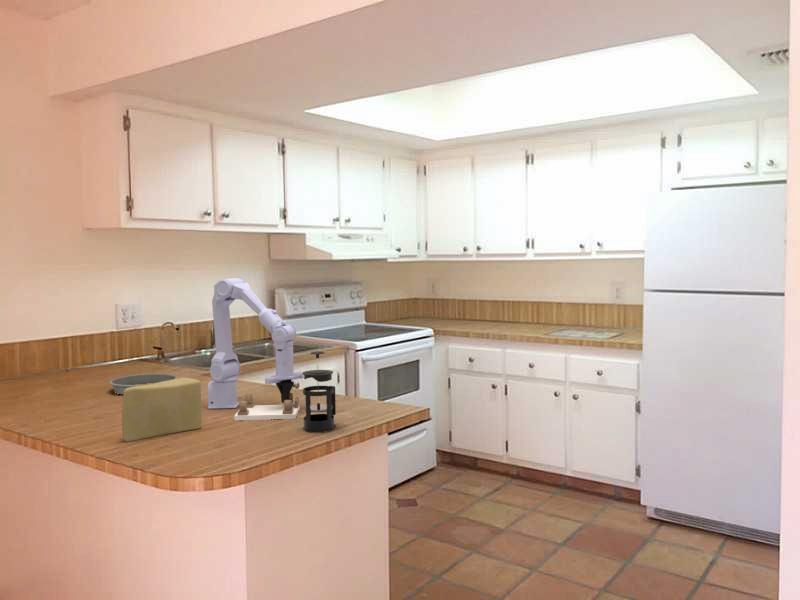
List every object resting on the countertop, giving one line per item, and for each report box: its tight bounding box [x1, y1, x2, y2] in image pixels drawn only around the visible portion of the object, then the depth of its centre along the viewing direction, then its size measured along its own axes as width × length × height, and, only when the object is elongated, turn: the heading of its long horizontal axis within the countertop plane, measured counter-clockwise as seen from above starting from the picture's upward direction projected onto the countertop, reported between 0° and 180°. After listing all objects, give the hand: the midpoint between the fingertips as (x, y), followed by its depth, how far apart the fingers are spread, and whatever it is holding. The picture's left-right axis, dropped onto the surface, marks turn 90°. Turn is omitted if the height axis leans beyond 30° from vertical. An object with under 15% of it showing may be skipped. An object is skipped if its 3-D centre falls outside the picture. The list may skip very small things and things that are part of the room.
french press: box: [302, 350, 337, 433], centre depth 195 cm, size 12×9×23 cm
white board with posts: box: [233, 393, 301, 422], centre depth 213 cm, size 19×14×6 cm
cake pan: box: [109, 373, 179, 394], centre depth 256 cm, size 25×25×4 cm
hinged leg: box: [289, 392, 294, 409], centre depth 215 cm, size 8×2×4 cm, turn 10°
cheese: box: [121, 377, 203, 443], centre depth 192 cm, size 22×10×15 cm, turn 139°
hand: (285, 402), depth 217 cm, fingers closed
